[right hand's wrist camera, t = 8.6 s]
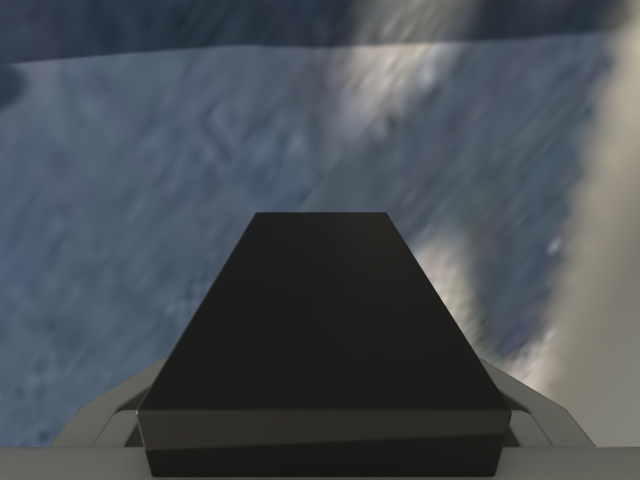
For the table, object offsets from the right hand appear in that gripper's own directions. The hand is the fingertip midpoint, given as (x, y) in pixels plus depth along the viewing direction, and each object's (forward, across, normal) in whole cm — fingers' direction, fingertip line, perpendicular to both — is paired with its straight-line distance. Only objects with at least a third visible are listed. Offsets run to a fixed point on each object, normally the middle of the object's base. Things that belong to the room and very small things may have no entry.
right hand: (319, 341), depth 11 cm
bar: (+4, 0, +8) cm, 9 cm away
